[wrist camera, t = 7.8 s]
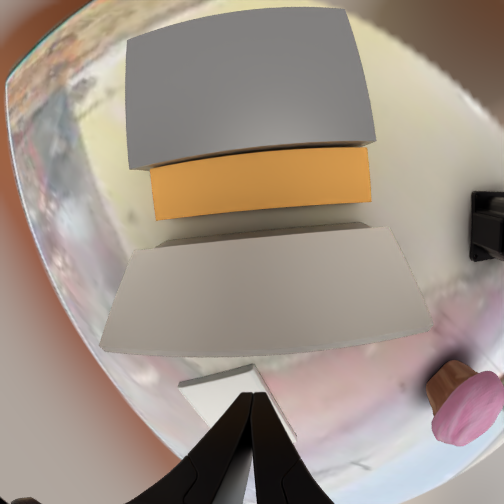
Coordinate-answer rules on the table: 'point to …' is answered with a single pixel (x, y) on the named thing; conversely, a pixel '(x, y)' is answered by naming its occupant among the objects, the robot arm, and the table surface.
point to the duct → (246, 92)
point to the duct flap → (266, 296)
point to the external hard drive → (227, 394)
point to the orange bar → (261, 181)
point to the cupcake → (463, 402)
